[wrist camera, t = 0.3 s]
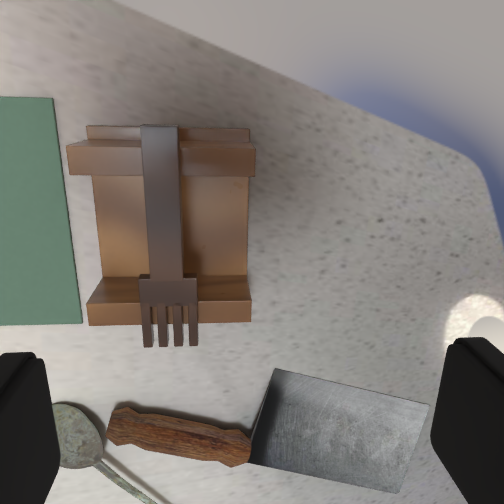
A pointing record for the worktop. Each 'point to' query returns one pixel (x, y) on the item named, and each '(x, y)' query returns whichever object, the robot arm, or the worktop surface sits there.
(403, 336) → the worktop surface
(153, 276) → the fork
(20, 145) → the mat
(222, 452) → the meat cleaver
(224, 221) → the rack
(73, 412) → the soupspoon
